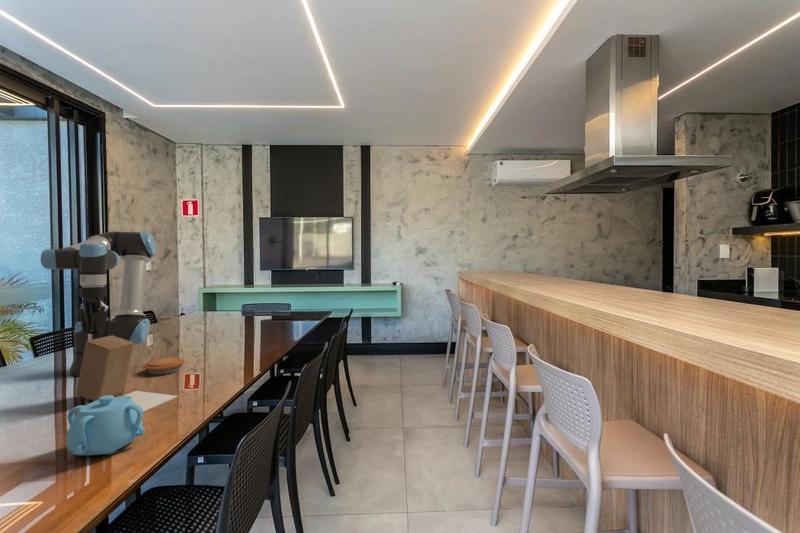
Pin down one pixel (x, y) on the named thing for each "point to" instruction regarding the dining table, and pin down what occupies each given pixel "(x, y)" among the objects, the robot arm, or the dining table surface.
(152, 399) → the mat
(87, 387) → the wooden block
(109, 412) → the decorative pot
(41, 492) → the dining table surface
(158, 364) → the pie
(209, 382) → the dining table surface
